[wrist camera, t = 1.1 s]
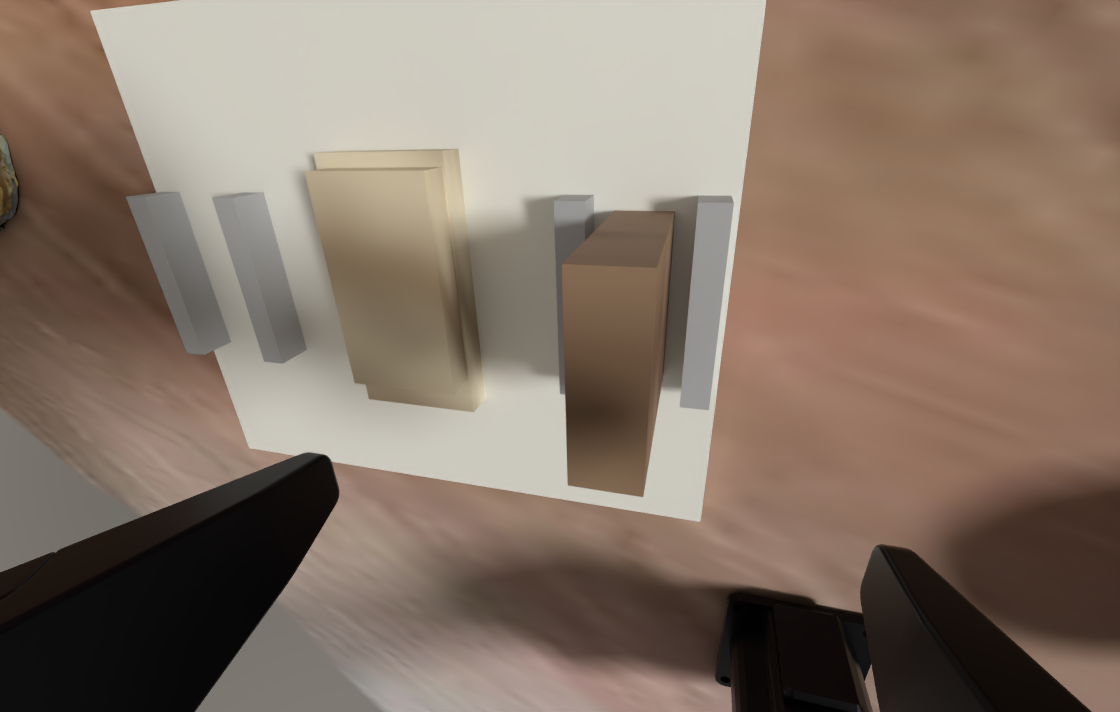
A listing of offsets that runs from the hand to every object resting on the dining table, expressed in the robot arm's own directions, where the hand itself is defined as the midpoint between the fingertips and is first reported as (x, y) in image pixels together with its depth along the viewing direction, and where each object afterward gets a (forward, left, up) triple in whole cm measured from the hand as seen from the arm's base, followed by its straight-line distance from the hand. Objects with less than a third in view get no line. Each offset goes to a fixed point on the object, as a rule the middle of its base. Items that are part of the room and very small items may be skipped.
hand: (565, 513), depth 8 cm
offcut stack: (0, +9, -11) cm, 14 cm away
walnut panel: (0, 0, -11) cm, 11 cm away
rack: (0, +9, -12) cm, 15 cm away
